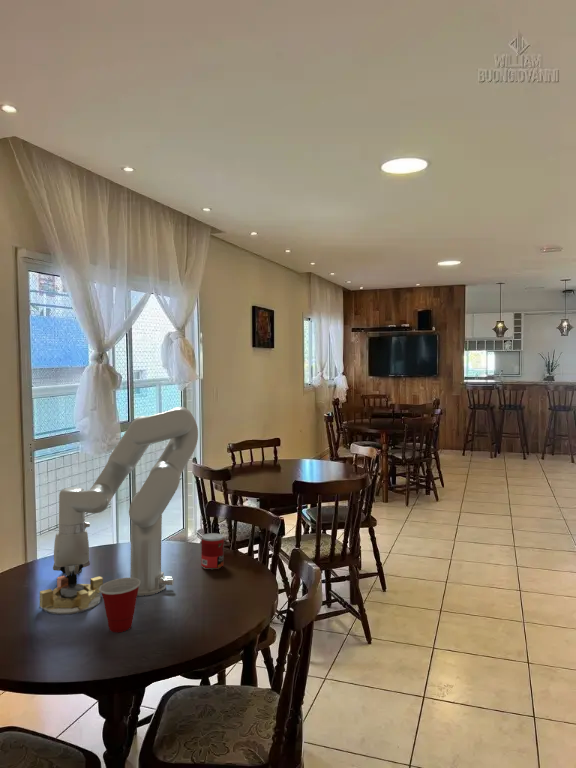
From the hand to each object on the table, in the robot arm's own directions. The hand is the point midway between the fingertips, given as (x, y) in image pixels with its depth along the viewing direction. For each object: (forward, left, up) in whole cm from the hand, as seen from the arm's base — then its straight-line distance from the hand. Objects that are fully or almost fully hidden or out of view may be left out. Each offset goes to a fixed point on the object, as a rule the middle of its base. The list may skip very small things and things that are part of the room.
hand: (71, 586), depth 168 cm
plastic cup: (-24, +21, -2) cm, 32 cm away
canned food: (-39, -28, -2) cm, 48 cm away
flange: (-4, +7, -2) cm, 8 cm away
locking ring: (-4, +7, -1) cm, 8 cm away
